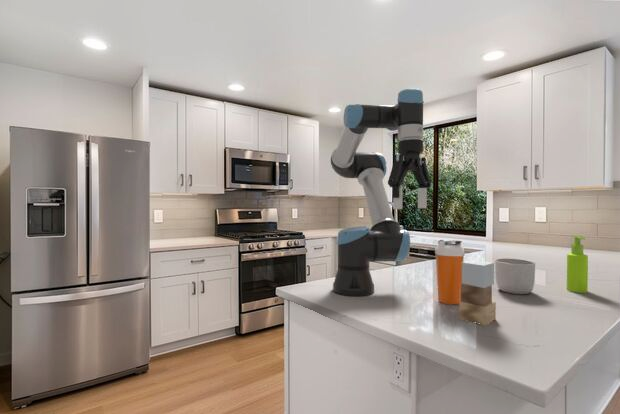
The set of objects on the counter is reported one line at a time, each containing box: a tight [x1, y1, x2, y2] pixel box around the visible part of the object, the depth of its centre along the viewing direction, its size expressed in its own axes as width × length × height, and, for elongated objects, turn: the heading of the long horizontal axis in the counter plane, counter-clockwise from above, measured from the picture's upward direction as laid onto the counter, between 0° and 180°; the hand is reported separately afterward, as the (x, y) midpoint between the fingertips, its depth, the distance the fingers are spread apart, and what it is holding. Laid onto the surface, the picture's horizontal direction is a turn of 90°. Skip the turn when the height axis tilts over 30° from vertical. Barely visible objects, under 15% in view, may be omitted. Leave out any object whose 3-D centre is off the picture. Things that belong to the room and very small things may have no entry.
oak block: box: [458, 300, 497, 326], centre depth 93 cm, size 7×7×5 cm
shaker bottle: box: [434, 239, 465, 305], centre depth 109 cm, size 9×9×20 cm
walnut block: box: [461, 284, 493, 307], centre depth 93 cm, size 6×6×5 cm
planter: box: [494, 257, 536, 295], centre depth 120 cm, size 12×12×11 cm
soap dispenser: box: [566, 235, 589, 294], centre depth 120 cm, size 6×7×20 cm
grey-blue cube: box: [462, 259, 495, 288], centre depth 93 cm, size 6×6×6 cm
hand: (410, 208), depth 104 cm, fingers open, 13 cm apart
